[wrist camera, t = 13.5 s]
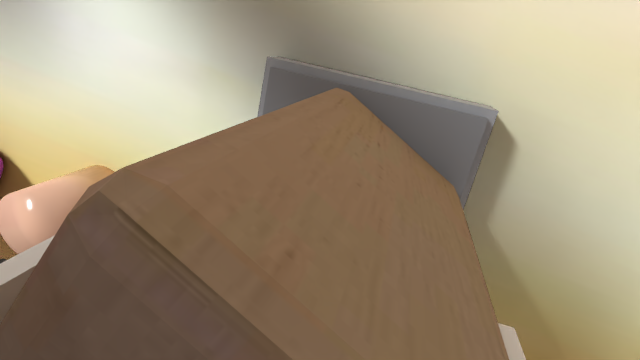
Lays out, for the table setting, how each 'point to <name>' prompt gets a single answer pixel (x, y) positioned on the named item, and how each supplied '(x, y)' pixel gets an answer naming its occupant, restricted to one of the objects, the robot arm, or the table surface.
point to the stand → (395, 114)
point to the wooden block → (264, 253)
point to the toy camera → (1, 167)
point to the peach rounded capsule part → (44, 207)
